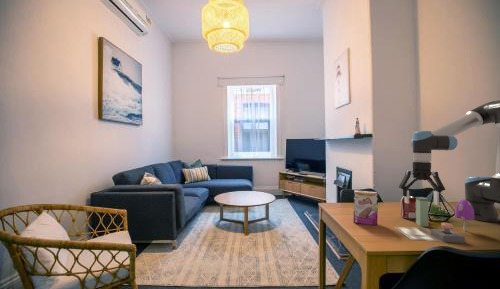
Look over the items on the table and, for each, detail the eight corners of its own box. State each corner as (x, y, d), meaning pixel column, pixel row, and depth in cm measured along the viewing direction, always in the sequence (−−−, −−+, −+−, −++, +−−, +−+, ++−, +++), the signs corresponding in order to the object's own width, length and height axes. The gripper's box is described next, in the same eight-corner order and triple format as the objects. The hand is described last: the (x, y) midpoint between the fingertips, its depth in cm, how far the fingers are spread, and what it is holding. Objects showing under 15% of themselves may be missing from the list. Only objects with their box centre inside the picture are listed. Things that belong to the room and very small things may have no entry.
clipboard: (437, 229, 111) (437, 228, 111) (463, 243, 95) (463, 242, 95) (392, 227, 114) (392, 226, 114) (410, 240, 98) (410, 239, 98)
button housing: (450, 235, 103) (450, 229, 103) (464, 242, 95) (464, 236, 95) (430, 234, 104) (430, 228, 104) (443, 241, 96) (443, 235, 96)
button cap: (448, 232, 101) (448, 222, 101) (455, 235, 97) (455, 225, 97) (438, 231, 102) (438, 222, 102) (445, 235, 98) (445, 225, 98)
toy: (476, 235, 104) (476, 202, 104) (456, 232, 107) (456, 200, 107) (472, 230, 109) (472, 199, 109) (453, 228, 113) (453, 197, 113)
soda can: (418, 220, 125) (417, 198, 125) (404, 219, 127) (404, 197, 127) (411, 216, 132) (411, 195, 132) (398, 215, 133) (398, 194, 133)
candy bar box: (353, 223, 120) (353, 191, 120) (353, 220, 125) (353, 190, 125) (378, 226, 115) (377, 193, 116) (377, 223, 120) (377, 191, 120)
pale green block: (423, 224, 118) (423, 197, 118) (428, 227, 114) (428, 199, 114) (415, 224, 118) (415, 197, 119) (420, 226, 115) (420, 198, 115)
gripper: (443, 161, 119) (443, 203, 118) (391, 160, 122) (391, 200, 122) (454, 162, 111) (454, 206, 111) (398, 161, 115) (398, 204, 114)
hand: (421, 203), depth 116 cm, fingers open, 13 cm apart
